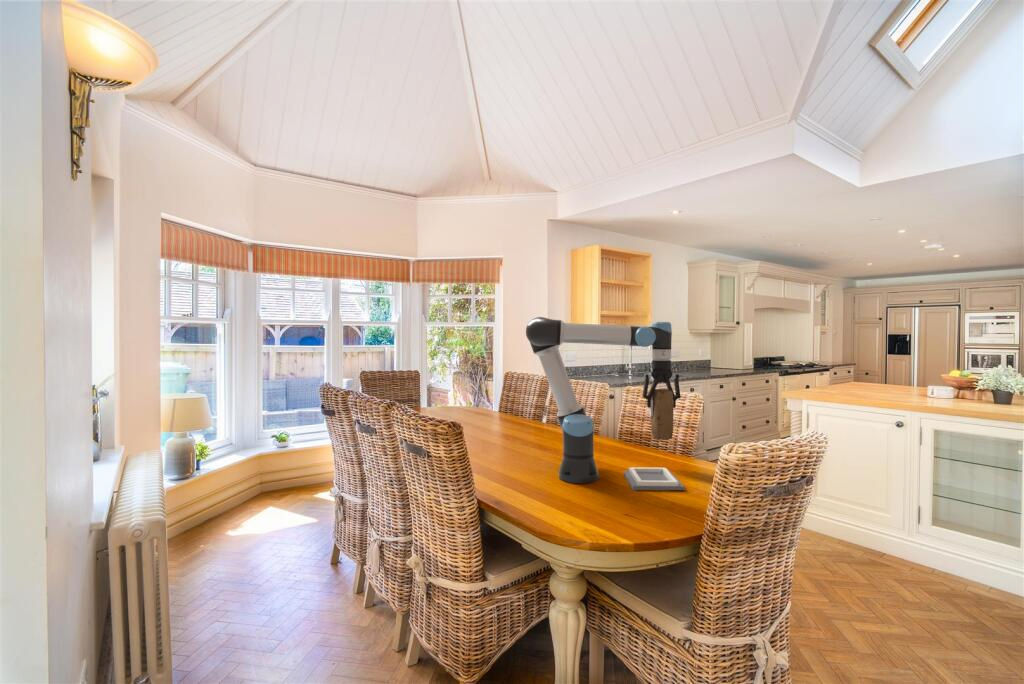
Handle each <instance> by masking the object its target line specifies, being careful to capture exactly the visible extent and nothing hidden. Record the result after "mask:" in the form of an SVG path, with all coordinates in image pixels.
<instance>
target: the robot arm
mask: <svg viewBox="0 0 1024 684" xmlns="http://www.w3.org/2000/svg"><path fill="white" fill-rule="evenodd" d="M672 334H673V330H672V324H671V322H670V321H653V322H652V325H651V326H646V325H644V326H643V325H642V326H640V325H639V326H635V325H631V326H630V325H613V324H612V325H611V324H591V323H573V322H572V323H571V322H570V323H569V322H564V321H563V320H562V319H552V318H547V317H545V316H544V317H543V316H538V317H534V318H533V319H531V320H529V322H528V323H527V325H526V327H525V336H526V338H527V340H528V342H529V344H530V346H531V349H532V351H533V354H534V355H536V356H538V357H539V361H540V364H541V366H542V368H543V371H544V372H543V373H544V375H545V377H546V380H547V383H548V385H549V387H550V391H551V393H552V397H553V398H554V402H555V405H556V406H557V409H558V410H557V413H556V418H557V421H558V424H559V426H560V428H561V432H562V451H563V453H562V460H561V464H560V466H559V470H558V479H560V480H561V481H564V482H566V483H571V484H589V483H590V484H591V483H593V482H596V481H597V480H599V470H598V467H597V464H596V461H595V458H594V448H595V447H594V429H595V424H594V420H593V418H592V417H591V416H589V415H587V414H586V410H585V409H584V408H585V407H584V405H583V404H580V403H579V402H578V400H577V397H576V395H575V391H574V389H573V386H572V384H571V380H570V378H569V375H568V373H567V369H566V366H565V363H564V361H563V358H562V356H561V352H560V349H559V348H560V346H561V345H563V344H587V345H607V346H608V345H612V346H626V347H627V346H630V347H642V348H646V347H650V346H651V350H652V351H651V359H652V361H651V372H649V373H644V375H643V378H644V382H643V383H644V384H643V390H642V398H644V399H646V407H647V408H648V409H649V410H648V411H649V412H648V413H649V416H650V417H651V416H653V400H652V399H651V398H652V396H653V393H654V391H655V389H657V386H658V384H660V383H664V384H665V386H666V389H669V390H670V391H672V393H673V409H675V408H676V406H677V403H676V402H677V400H678V399H681V398H682V397H681V390H680V382H679V379H680V374H678V373H673V371H672V360H671V359H672V337H673V335H672ZM651 377H652V378H653V380H652V384H651V386H650V388H649V384H650V379H651ZM671 378H672V379H673V384H674V390H673V388H672V384H671V381H670V380H671Z"/></svg>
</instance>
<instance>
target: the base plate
mask: <svg viewBox="0 0 1024 684" xmlns="http://www.w3.org/2000/svg"><path fill="white" fill-rule="evenodd" d="M624 475H625V476H624ZM623 476H624V478H625V477H626V478H625V480H626V481H627V483H628V482H629V483H628V485H629V484H630V485H629V487H630V486H631V487H630V488H631V491H636V490H684V491H686V490H685V486H684V484H682V482H681V481H680V480H679V479H678V478H677V477H676V476H675V475H674V474H673V472H672V471H671V470H669V469H667V468H666V467H640V466H639V467H638V466H637V467H635V466H634V467H628V470H623Z"/></svg>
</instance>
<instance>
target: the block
mask: <svg viewBox="0 0 1024 684" xmlns="http://www.w3.org/2000/svg"><path fill="white" fill-rule="evenodd" d="M651 399H652V400H653V416H650V426H651V428H650V429H651V436H652V437H653V438H654V439H655V440H661V441H669V440H672V439H673V435H674V408H673V393H672V391H670V390H669V389H668V388H655V391H654V393H653V396H652V398H651Z"/></svg>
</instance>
